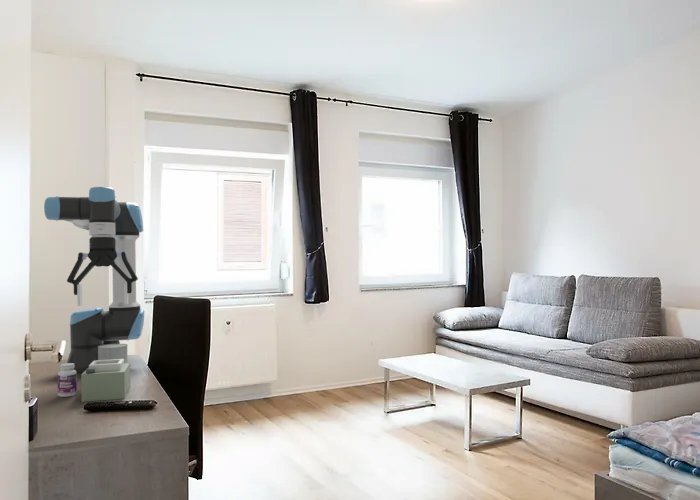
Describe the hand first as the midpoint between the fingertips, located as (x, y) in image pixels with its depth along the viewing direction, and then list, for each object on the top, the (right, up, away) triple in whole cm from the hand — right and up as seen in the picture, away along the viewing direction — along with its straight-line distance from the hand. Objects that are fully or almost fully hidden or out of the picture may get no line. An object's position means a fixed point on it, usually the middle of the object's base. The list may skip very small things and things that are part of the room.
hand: (103, 304), depth 182 cm
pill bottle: (-11, -28, 0) cm, 30 cm away
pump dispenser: (-27, -30, +68) cm, 79 cm away
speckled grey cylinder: (-5, -29, +20) cm, 35 cm away
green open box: (+1, -28, 0) cm, 28 cm away
